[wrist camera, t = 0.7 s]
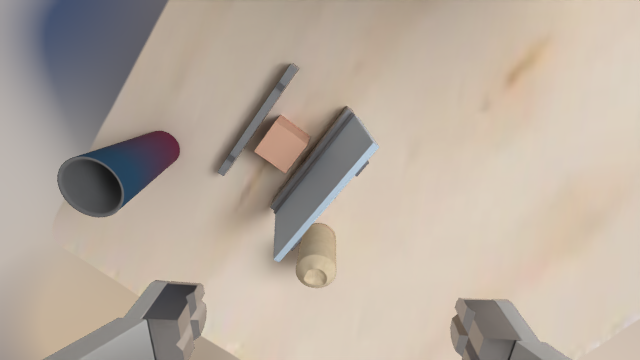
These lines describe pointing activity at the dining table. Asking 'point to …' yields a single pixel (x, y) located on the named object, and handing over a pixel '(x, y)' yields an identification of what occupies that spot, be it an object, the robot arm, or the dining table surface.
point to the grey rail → (259, 119)
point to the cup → (115, 173)
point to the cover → (322, 183)
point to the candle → (317, 256)
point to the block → (282, 144)
